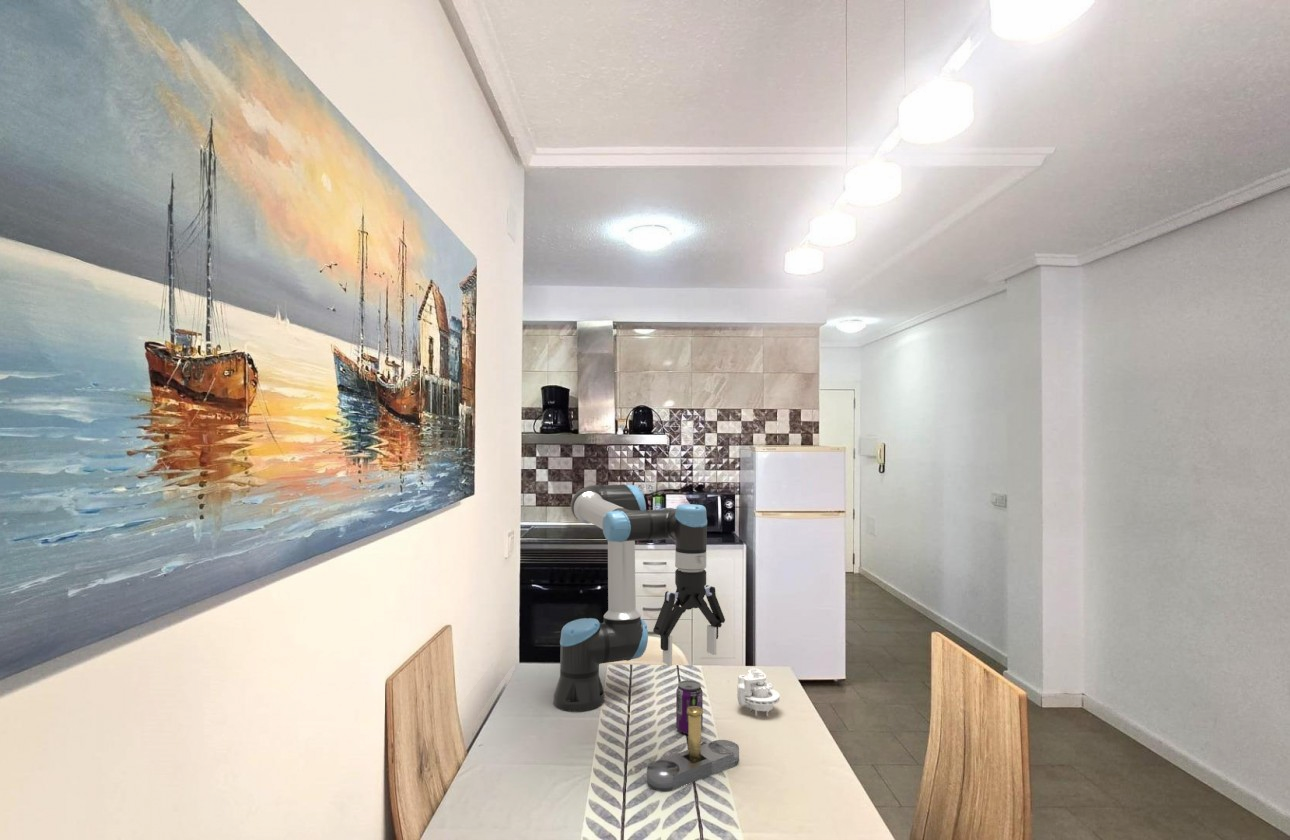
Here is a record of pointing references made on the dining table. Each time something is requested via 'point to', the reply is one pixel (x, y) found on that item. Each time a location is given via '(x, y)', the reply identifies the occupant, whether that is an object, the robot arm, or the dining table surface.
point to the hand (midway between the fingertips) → (690, 658)
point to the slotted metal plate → (692, 766)
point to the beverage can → (687, 702)
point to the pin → (694, 733)
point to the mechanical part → (756, 692)
